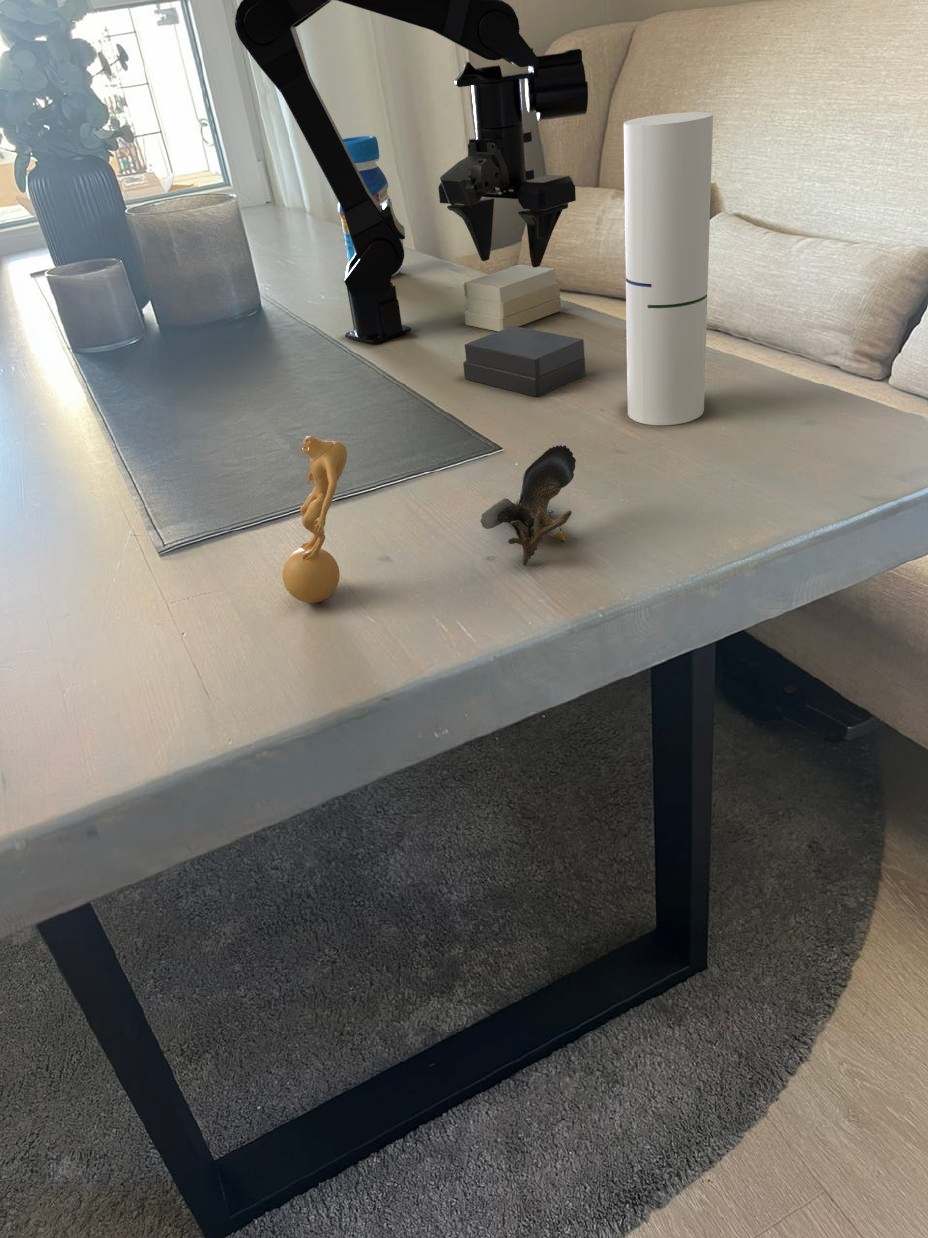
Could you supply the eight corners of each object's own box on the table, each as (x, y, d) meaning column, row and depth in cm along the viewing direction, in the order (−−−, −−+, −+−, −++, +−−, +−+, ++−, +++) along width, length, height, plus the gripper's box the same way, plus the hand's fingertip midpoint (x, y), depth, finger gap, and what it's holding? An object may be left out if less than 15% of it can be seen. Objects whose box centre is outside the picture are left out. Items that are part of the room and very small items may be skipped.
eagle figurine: (604, 549, 66) (599, 475, 73) (544, 483, 63) (544, 411, 69) (518, 597, 70) (521, 522, 76) (457, 537, 66) (465, 464, 73)
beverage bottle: (372, 268, 157) (352, 135, 147) (411, 270, 153) (393, 133, 142) (338, 280, 152) (315, 143, 141) (378, 283, 147) (357, 142, 137)
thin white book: (520, 277, 126) (519, 263, 125) (556, 283, 121) (555, 268, 120) (464, 296, 120) (463, 282, 119) (500, 302, 116) (499, 287, 115)
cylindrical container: (656, 393, 94) (657, 112, 81) (718, 405, 90) (730, 110, 76) (612, 416, 90) (605, 125, 77) (674, 430, 86) (679, 124, 72)
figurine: (285, 576, 70) (249, 424, 64) (364, 561, 71) (336, 409, 65) (292, 634, 63) (252, 471, 57) (379, 616, 64) (349, 453, 58)
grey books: (464, 379, 104) (460, 343, 102) (513, 359, 108) (510, 324, 106) (536, 397, 97) (533, 359, 95) (586, 375, 101) (584, 338, 99)
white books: (503, 332, 118) (501, 303, 116) (465, 325, 122) (462, 296, 120) (561, 310, 123) (560, 282, 121) (522, 304, 128) (520, 277, 126)
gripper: (397, 137, 113) (415, 271, 121) (505, 136, 100) (517, 286, 109) (465, 122, 119) (478, 252, 127) (575, 120, 106) (581, 264, 115)
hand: (510, 263), depth 119 cm, fingers open, 9 cm apart
